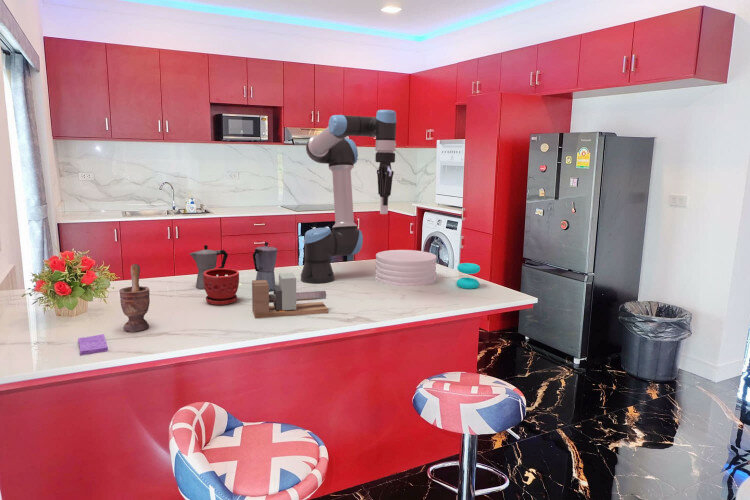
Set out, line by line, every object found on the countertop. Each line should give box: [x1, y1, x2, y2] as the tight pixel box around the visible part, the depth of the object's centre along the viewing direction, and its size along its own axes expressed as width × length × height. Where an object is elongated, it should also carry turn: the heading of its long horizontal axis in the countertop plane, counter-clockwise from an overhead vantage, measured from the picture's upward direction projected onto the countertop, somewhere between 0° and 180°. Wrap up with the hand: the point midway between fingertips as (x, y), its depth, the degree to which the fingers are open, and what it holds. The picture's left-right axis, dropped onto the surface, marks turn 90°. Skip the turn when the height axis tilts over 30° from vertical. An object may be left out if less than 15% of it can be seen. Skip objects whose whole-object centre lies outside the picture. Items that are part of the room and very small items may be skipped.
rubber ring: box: [273, 285, 282, 310], centre depth 187 cm, size 7×2×7 cm, turn 18°
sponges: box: [77, 333, 109, 356], centre depth 152 cm, size 7×13×2 cm, turn 32°
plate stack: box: [375, 249, 437, 288], centre depth 242 cm, size 28×28×12 cm
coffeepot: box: [189, 244, 229, 290], centre depth 220 cm, size 15×9×18 cm, turn 113°
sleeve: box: [278, 272, 297, 310], centre depth 187 cm, size 8×5×12 cm, turn 18°
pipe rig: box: [251, 279, 329, 319], centre depth 188 cm, size 9×26×12 cm, turn 108°
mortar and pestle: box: [119, 263, 151, 333], centre depth 167 cm, size 12×9×20 cm
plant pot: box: [203, 267, 240, 306], centre depth 198 cm, size 13×13×12 cm
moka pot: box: [252, 241, 279, 292], centre depth 217 cm, size 10×15×20 cm, turn 161°
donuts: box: [456, 262, 481, 290], centre depth 231 cm, size 10×10×10 cm
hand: (383, 213), depth 202 cm, fingers closed
